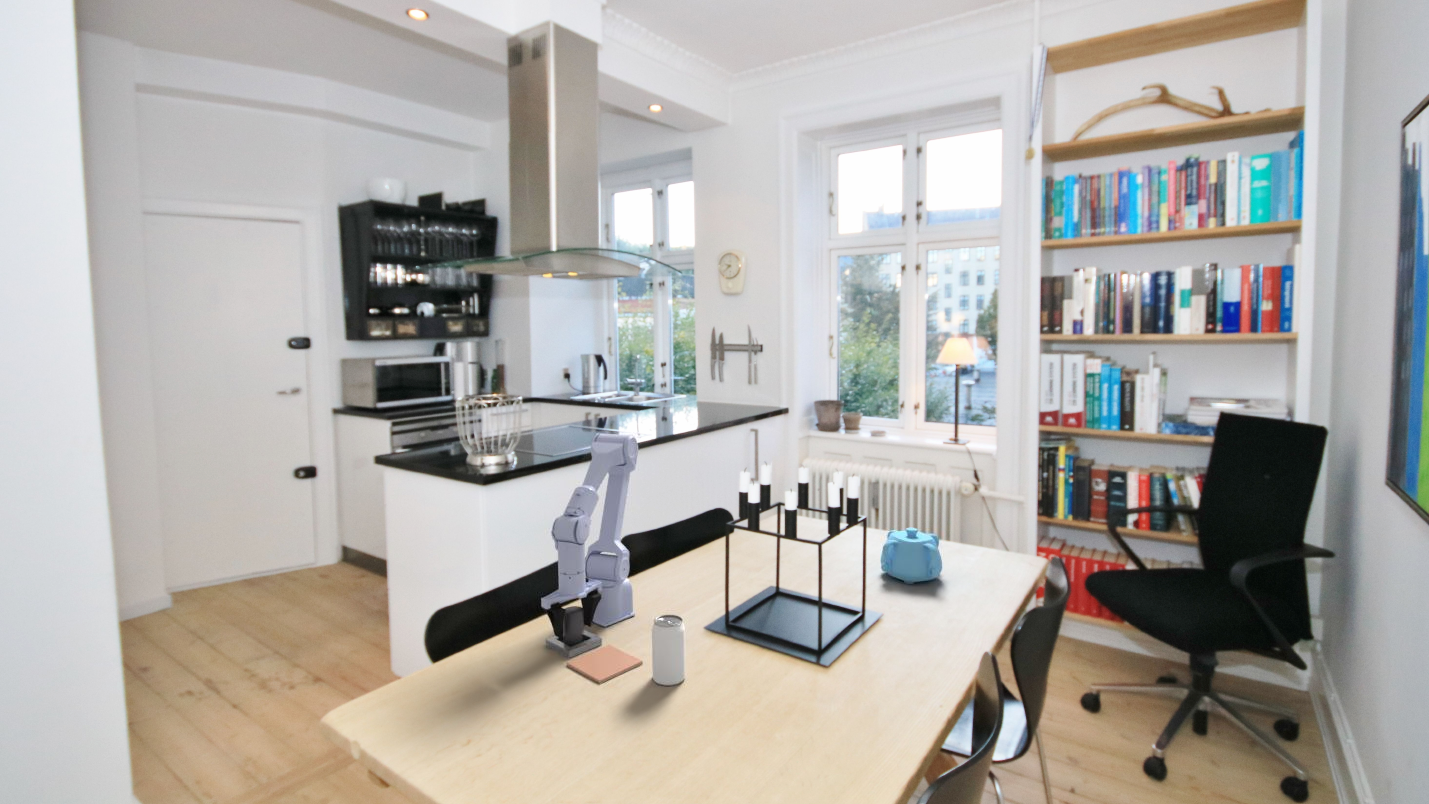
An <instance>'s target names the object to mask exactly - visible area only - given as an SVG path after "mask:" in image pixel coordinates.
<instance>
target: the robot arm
mask: <svg viewBox="0 0 1429 804" xmlns="http://www.w3.org/2000/svg"><path fill="white" fill-rule="evenodd" d="M638 454H639V444H638V440H637V439H636V437H635V435H634V434H615V433H613V434H612V433H602V432H597V433H596V434H595V435H594V437H593V438H592V440H591V444H590V455H591V461H590V464H589V465H588V469H587V472H586V474H585V476H584V480H583V483H582V485H579V486H577V487H576V488H575V489H574V490H573V493H572V495H571V497H570V499H569V501H568V503H567V504H566V505H567V506H566V508H565V510H564V511H563V514H562V515H560V516H558V517H557V518H555V520H554V521H553V524H552V526H551V527H552V528H551V529H552V530H551V531H550V532H551V537H552V540H553V542H554V548H555V550H556V551H557V566H558V567H557V568H558V569H557V570H558V573H557V574H558V589H556V590H555V591H553V592H552V593H550V594H548V595H546V596H544V597H541V599H540V600H541V601H540V602H541V603H540V604H541V608H543V611H545V613H546V615H547V617H548V619H549V621H550V623H551V626H552V629H553V633H554V636H557V637H559V638H562V637H563V621H564V615H565V611H566V609H565V608H563V607H562V605H561V604H563V603H565V602H569V601H571V600H574V599H580V602H581V607H582V608H583V616H584V626H587V627H589V628H590V627H592V625H593V623H594V624H597V625H600V626H602V627H604V628H606V627H609V626H611V625H614V624H616V623H619V622H621V621H623V620H626V619H628V618H631V617H633V616H635V615H636V613H635V612H634V601H633V600H634V596H633V595H634V594H633V593H634V591H633V586H632V583H631V581H630V580H629V579H628V577H629V573H630V566H631V565H630V551H629V549H627V547H626V546H625V545H624V544H623V543H622V542H621V537H622V530H623V524H624V517H625V511H626V504H627V498H628V492H629V491H628V490H629V483H630V478H631V477H630V476H631V473H632V472H634V471H635V470H636V465H637V460H638ZM607 474H608V478H607V485H606V492H605V498H604V504H603V505H604V506H603V510H602V517H601V524H600V530H599V537H598V539H597V540H596V541H595V542H593V543H592V544H590V545H589V546H588V548H587V552H586V549H585V548H586V546H585V544H586V541H587V540H588V538H589V536H590V534H591V533H590V532H591V524H592V520H591V518H592V515H593V513H594V510H595V508H596V506H597V504H598V502H599V499H600V496H599V494H598V490H599V488H600V487H601V485H602V483H603V481H604V480H605V478H606V476H607ZM585 553H586V554H585ZM608 553H612V554H608ZM587 579H588V580H587ZM586 580H587V581H588V582H586Z"/></svg>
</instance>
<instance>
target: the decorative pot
mask: <svg viewBox="0 0 1429 804" xmlns="http://www.w3.org/2000/svg"><path fill="white" fill-rule="evenodd" d="M939 545H940V539H939V536H938V535H936V534H935V533H924V532H921V531H919V529H918V528H916V527H907V528H905V530H897V529H892V530H890V531H888V533H887V535H886V542H885V543H884V544H883V546H882V551H881V556H880V565H881V566H880V568H881V570H882V572H884V573H887V574H888V575H889V576H891V577H893V578H895V579H898V580H902V581H903V583H905V584H909V585H913V584H914V583H919V582H925V581H932V580H935V579H937V577H939V576H940V574H941V573H942V570H943V561H942V560H943V559H942V556H941V552H940V550H939Z"/></svg>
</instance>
